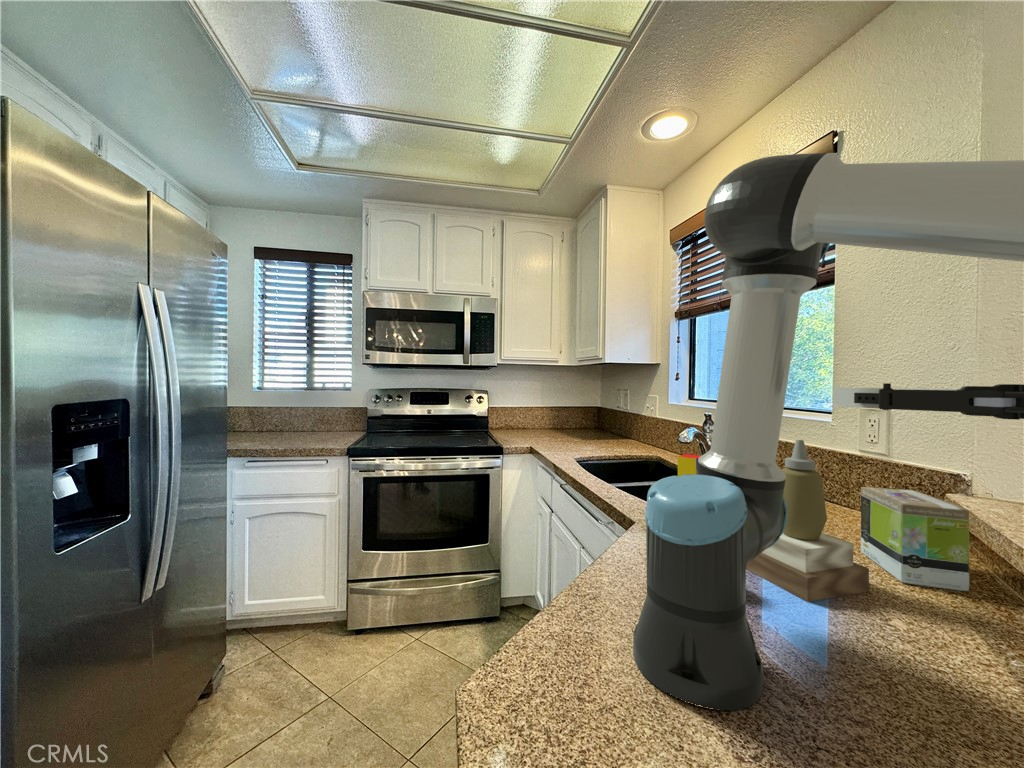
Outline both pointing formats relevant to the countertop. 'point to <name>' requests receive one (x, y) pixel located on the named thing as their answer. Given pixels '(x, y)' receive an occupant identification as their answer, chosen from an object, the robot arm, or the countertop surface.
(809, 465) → the squeeze bottle
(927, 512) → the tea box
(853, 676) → the countertop surface
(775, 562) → the box on wooden base
